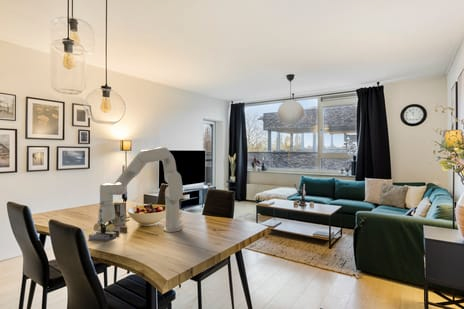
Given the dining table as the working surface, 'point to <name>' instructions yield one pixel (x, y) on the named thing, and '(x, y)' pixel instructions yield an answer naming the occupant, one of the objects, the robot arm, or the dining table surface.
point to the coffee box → (119, 214)
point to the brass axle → (109, 227)
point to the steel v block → (102, 236)
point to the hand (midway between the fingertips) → (106, 231)
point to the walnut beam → (122, 229)
